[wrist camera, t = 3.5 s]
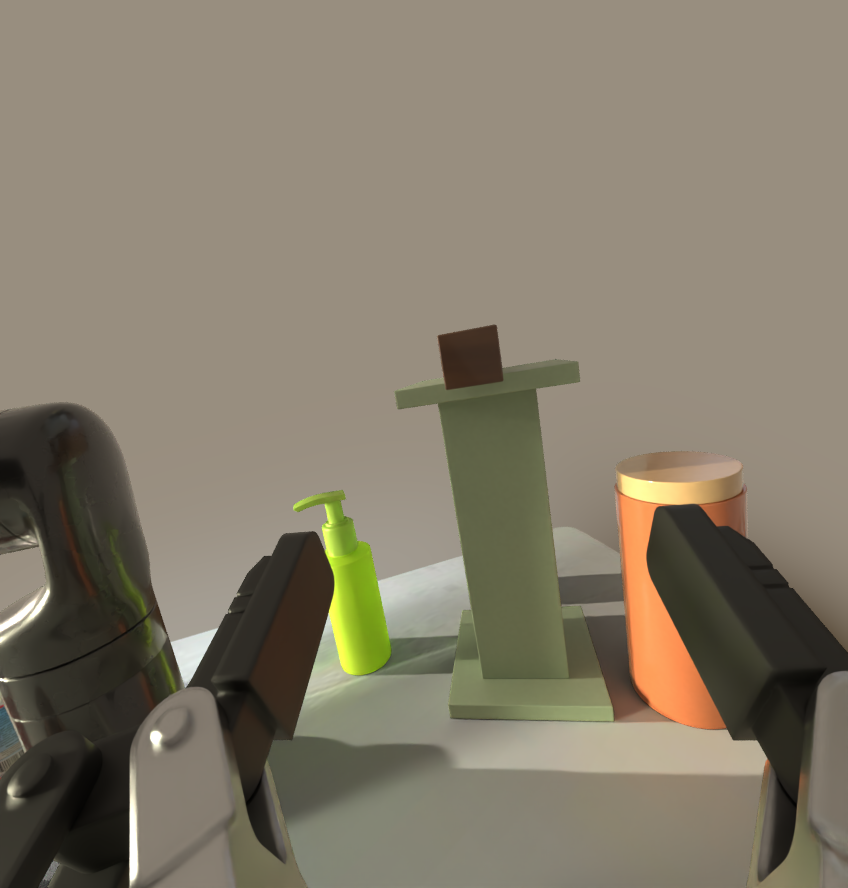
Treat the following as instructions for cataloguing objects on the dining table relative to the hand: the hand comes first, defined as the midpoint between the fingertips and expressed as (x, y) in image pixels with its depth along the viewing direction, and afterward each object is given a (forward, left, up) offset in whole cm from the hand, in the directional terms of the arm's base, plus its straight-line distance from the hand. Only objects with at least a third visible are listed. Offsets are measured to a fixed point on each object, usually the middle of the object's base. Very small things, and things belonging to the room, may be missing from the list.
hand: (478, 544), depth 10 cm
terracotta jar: (+2, +28, -27) cm, 39 cm away
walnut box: (-11, +22, +3) cm, 25 cm away
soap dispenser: (-29, +18, -27) cm, 44 cm away
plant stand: (-12, +25, -27) cm, 39 cm away
